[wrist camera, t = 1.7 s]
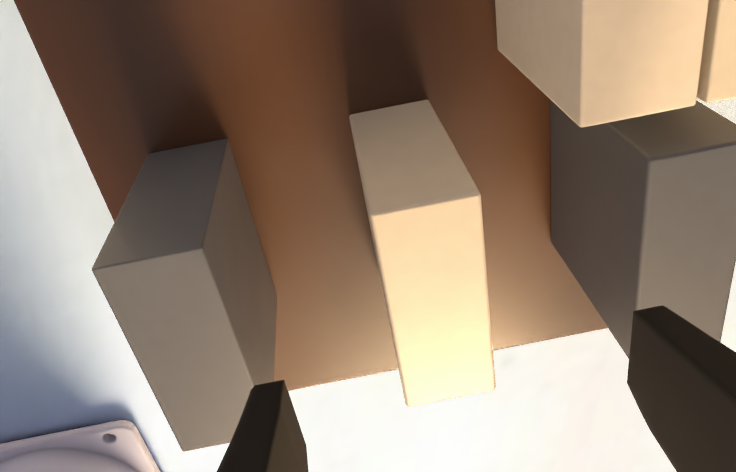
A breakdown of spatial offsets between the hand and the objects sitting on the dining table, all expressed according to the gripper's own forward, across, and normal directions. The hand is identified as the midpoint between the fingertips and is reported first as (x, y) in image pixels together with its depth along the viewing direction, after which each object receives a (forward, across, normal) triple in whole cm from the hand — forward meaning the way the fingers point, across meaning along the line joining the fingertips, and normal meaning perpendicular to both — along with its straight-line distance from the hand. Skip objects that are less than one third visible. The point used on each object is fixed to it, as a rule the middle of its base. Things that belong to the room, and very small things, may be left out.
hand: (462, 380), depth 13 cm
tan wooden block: (+8, 0, 0) cm, 8 cm away
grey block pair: (+9, 0, 0) cm, 9 cm away
